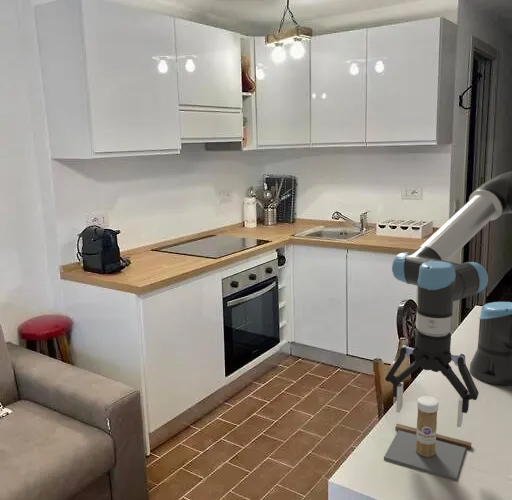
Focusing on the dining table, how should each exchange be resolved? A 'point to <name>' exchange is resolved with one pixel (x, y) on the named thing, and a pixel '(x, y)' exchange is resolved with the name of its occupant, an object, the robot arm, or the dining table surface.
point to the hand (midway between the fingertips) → (428, 416)
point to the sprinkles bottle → (426, 426)
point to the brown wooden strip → (438, 436)
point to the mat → (440, 463)
